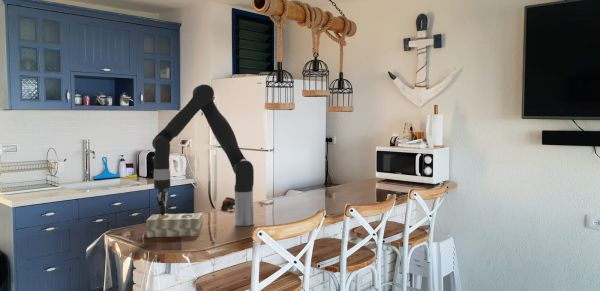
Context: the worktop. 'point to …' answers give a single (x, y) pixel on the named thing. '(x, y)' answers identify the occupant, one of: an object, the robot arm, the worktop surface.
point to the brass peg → (163, 216)
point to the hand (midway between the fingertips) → (163, 214)
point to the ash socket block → (174, 225)
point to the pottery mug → (228, 204)
